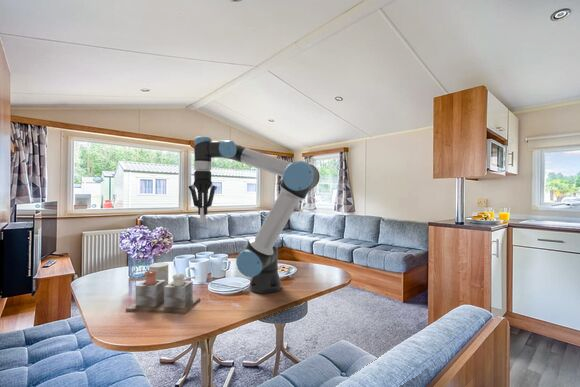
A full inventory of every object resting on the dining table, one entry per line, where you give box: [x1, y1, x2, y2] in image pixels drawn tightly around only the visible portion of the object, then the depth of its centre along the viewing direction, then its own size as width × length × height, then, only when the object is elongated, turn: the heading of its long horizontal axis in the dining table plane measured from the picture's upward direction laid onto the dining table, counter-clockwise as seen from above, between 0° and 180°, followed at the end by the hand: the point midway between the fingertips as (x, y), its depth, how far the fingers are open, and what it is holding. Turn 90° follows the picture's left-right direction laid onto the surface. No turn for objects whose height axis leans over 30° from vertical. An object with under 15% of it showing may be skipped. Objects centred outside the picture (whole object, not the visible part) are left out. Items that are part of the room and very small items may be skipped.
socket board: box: [125, 280, 201, 315], centre depth 118 cm, size 24×14×9 cm, turn 84°
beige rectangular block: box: [148, 262, 169, 286], centre depth 135 cm, size 8×8×12 cm
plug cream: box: [172, 273, 186, 286], centre depth 117 cm, size 5×5×10 cm
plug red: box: [144, 270, 157, 285], centre depth 118 cm, size 5×5×10 cm
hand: (202, 221), depth 133 cm, fingers closed
